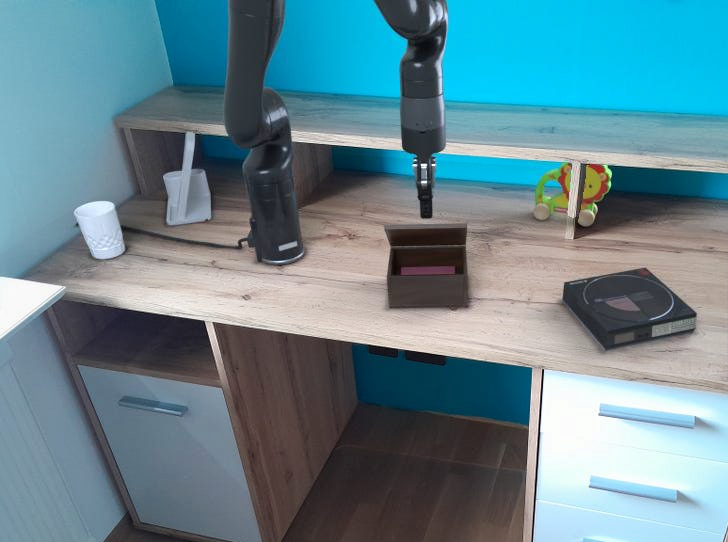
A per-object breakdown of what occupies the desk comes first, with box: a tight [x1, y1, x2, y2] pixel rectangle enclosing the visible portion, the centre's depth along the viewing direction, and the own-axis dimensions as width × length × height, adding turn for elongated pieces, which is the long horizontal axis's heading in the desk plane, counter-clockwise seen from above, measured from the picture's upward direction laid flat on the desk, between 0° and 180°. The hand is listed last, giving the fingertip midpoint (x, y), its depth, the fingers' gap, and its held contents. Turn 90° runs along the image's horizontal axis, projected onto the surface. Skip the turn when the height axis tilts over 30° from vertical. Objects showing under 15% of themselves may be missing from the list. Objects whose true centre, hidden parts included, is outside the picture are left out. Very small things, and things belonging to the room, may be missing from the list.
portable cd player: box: [561, 267, 698, 352], centre depth 121 cm, size 16×17×4 cm
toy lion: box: [533, 162, 613, 227], centre depth 150 cm, size 16×5×15 cm, turn 69°
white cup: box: [73, 200, 126, 260], centre depth 145 cm, size 8×8×10 cm
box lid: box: [383, 222, 468, 248], centre depth 125 cm, size 12×14×1 cm
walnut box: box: [386, 245, 469, 310], centre depth 129 cm, size 11×14×7 cm
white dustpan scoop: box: [162, 132, 212, 226], centre depth 160 cm, size 17×10×18 cm, turn 15°
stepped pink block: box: [401, 266, 455, 275], centre depth 129 cm, size 10×5×4 cm, turn 89°
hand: (426, 216), depth 125 cm, fingers closed
